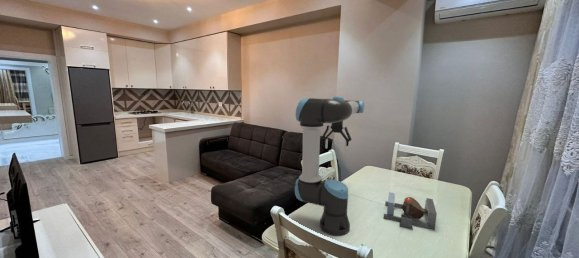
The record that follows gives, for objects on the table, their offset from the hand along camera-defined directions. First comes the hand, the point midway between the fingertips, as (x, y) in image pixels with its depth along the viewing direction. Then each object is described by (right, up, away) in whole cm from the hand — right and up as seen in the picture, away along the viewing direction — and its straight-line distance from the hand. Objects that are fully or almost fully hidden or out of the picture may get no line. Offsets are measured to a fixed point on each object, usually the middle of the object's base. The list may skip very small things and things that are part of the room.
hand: (335, 149), depth 164 cm
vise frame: (+32, -35, -36) cm, 59 cm away
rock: (+35, -35, -34) cm, 60 cm away
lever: (+28, -31, -44) cm, 61 cm away
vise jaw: (+25, -33, -30) cm, 51 cm away
